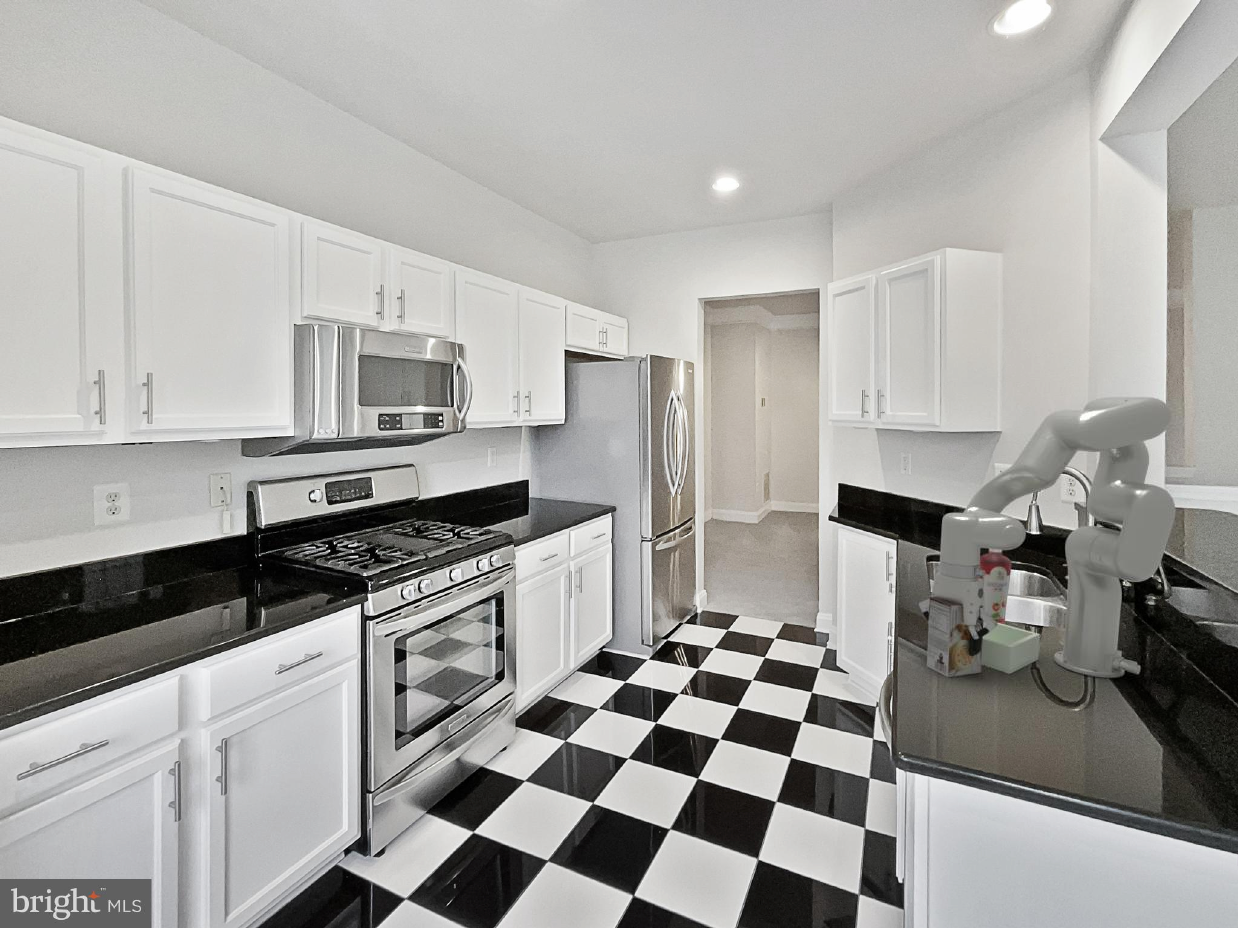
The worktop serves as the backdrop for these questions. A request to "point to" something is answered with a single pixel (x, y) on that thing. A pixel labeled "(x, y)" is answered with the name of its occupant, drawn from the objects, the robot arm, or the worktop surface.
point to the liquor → (996, 583)
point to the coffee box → (950, 640)
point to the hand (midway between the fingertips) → (954, 647)
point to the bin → (1009, 648)
